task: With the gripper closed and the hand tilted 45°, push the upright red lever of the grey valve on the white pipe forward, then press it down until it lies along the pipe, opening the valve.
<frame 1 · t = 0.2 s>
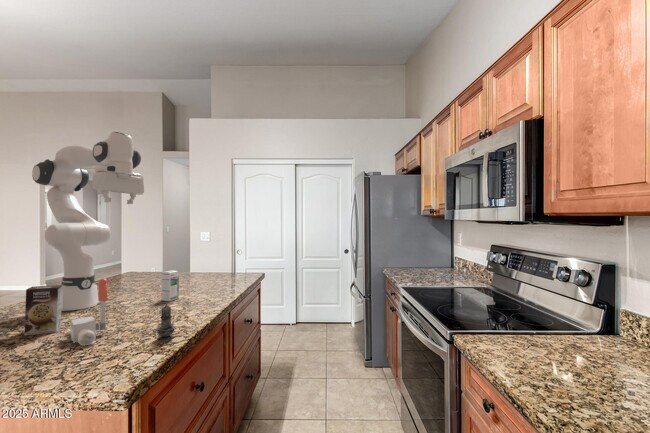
hand: (119, 203, 135), 48 cm above the counter, tool pointing down, fingers open, 8 cm apart
valve: (82, 338, 110), on the counter
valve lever: (102, 304, 114), point 11 cm above the counter, hinge at 0.0°
grey chess pawn: (165, 338, 111), on the counter
cookie box: (43, 331, 117), on the counter
syrup box: (169, 300, 164), on the counter
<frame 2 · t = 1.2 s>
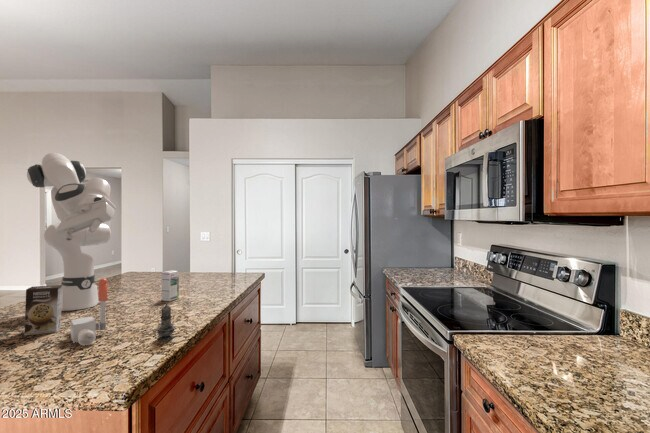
hand: (79, 235, 115), 35 cm above the counter, tool tilted 45°, fingers open, 8 cm apart
nothing on the counter moved.
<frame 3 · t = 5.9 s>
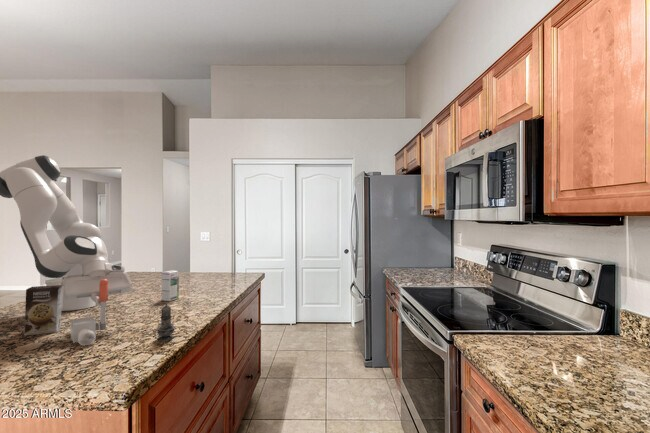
hand: (101, 304, 115), 10 cm above the counter, tool tilted 45°, fingers closed, pressing on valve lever
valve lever: (103, 304, 114), point 11 cm above the counter, hinge at 4.5°, touching gripper
everything else where it was.
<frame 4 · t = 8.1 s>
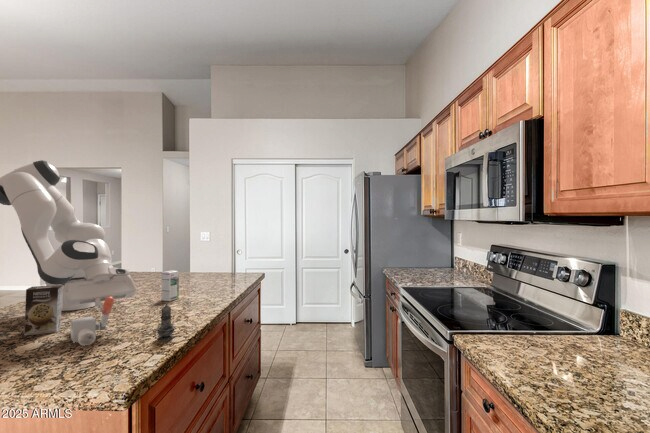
hand: (105, 310, 111), 10 cm above the counter, tool tilted 45°, fingers closed, pressing on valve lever
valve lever: (105, 313, 111), point 8 cm above the counter, hinge at 45.0°, touching gripper
everything else where it was.
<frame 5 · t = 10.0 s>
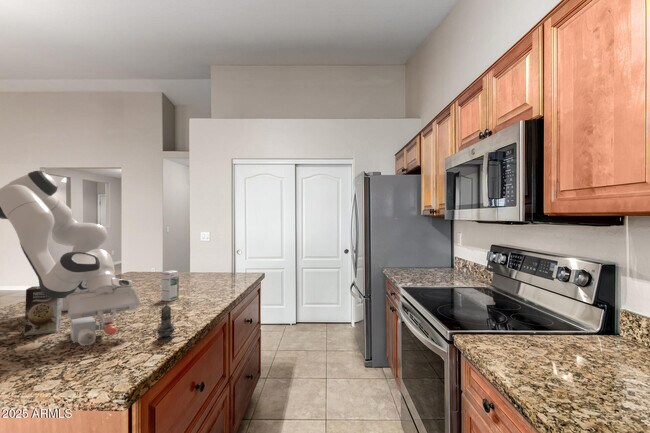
hand: (108, 323, 106), 6 cm above the counter, tool tilted 45°, fingers closed, pressing on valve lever
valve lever: (106, 328, 109), point 4 cm above the counter, hinge at 81.9°, touching gripper
everything else where it was.
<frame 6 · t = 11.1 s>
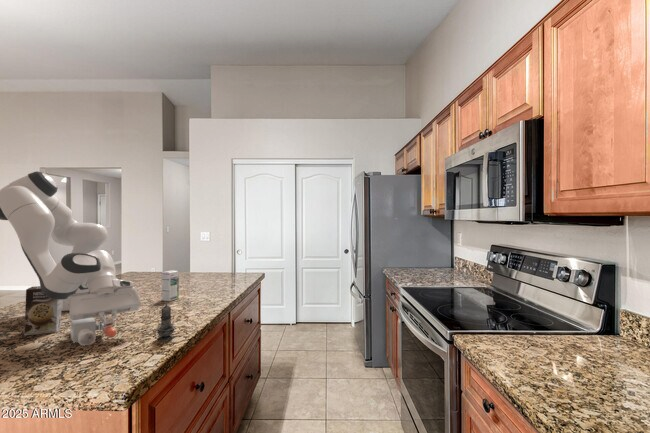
hand: (109, 324, 106), 6 cm above the counter, tool tilted 45°, fingers closed
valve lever: (106, 329, 109), point 4 cm above the counter, hinge at 84.9°
everything else where it was.
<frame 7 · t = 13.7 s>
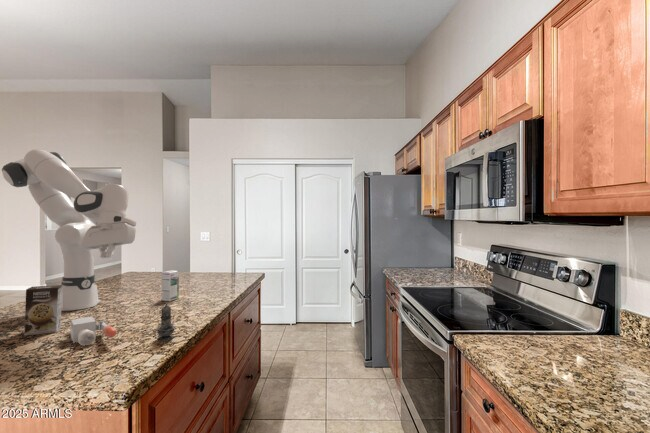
hand: (105, 257, 120), 27 cm above the counter, tool tilted 20°, fingers closed
nothing on the counter moved.
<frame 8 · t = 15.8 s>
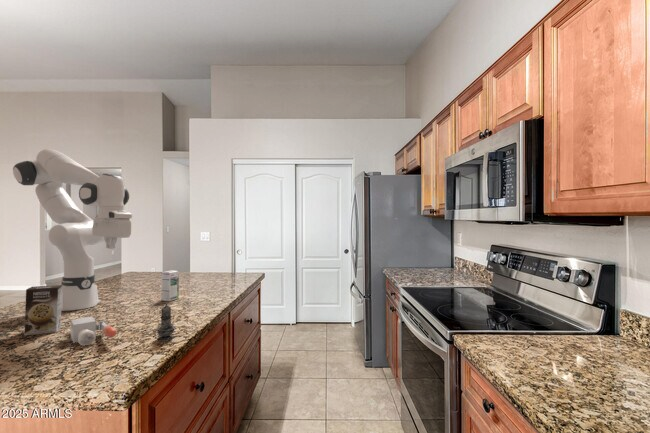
hand: (110, 248, 129), 29 cm above the counter, tool pointing down, fingers closed
nothing on the counter moved.
at the end: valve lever at +85° (first picture: +0°); grey chess pawn moved 0.2 cm from its start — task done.
